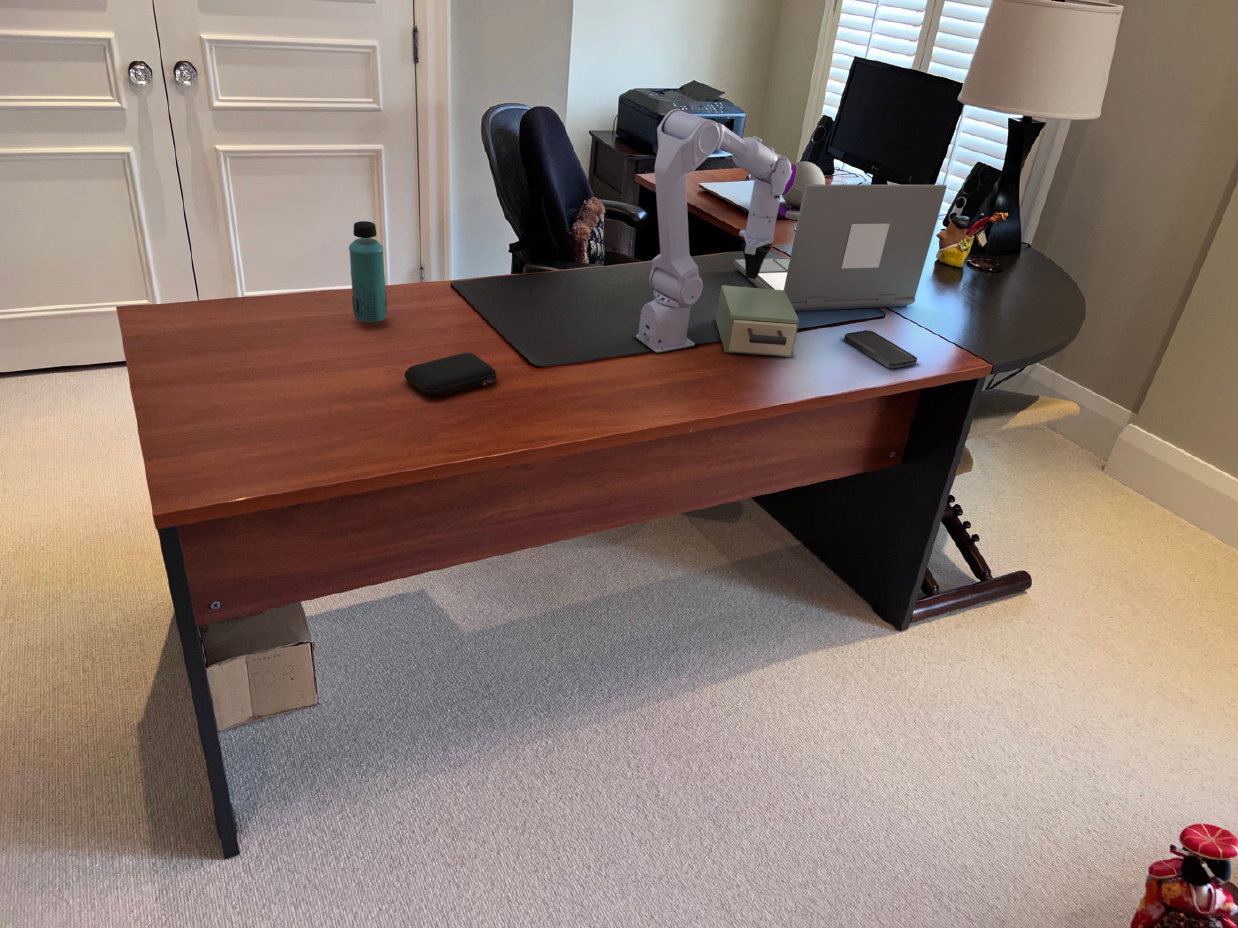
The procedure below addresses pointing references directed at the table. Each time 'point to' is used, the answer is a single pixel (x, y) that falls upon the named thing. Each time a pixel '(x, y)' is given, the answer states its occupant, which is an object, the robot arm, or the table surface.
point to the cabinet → (752, 310)
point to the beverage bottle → (367, 274)
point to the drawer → (762, 337)
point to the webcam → (798, 187)
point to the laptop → (855, 246)
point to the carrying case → (450, 375)
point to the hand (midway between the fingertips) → (751, 277)
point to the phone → (880, 349)
